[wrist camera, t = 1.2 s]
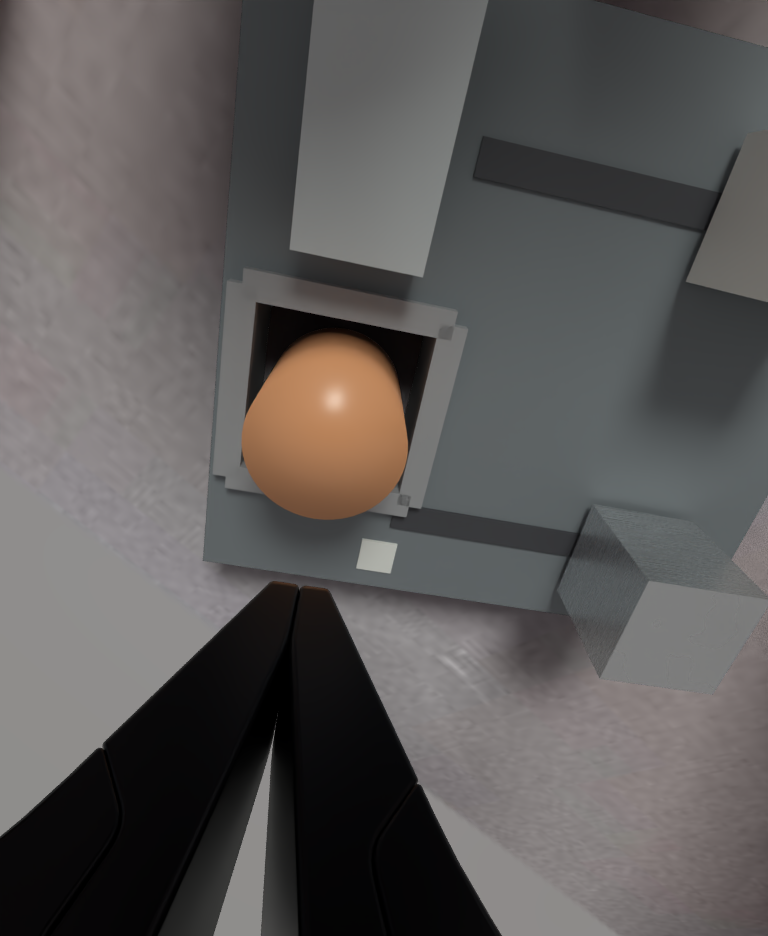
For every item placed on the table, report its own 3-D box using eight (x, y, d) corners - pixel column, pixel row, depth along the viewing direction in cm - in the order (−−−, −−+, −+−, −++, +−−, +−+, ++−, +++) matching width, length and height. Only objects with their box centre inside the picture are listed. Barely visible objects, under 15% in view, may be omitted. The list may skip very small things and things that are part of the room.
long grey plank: (485, -17, 11) (495, -29, 10) (420, 262, 14) (422, 277, 13) (329, -59, 11) (321, -77, 10) (297, 236, 14) (289, 249, 13)
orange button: (412, 341, 17) (424, 385, 13) (386, 459, 18) (389, 530, 14) (279, 315, 16) (249, 351, 12) (265, 438, 18) (235, 505, 14)
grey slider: (692, 521, 18) (772, 600, 15) (650, 604, 20) (712, 694, 16) (593, 504, 18) (648, 580, 14) (557, 589, 19) (599, 678, 16)
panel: (899, 121, 16) (1018, 102, 13) (657, 591, 23) (699, 647, 20) (269, -46, 14) (241, -111, 11) (221, 522, 21) (197, 572, 18)
